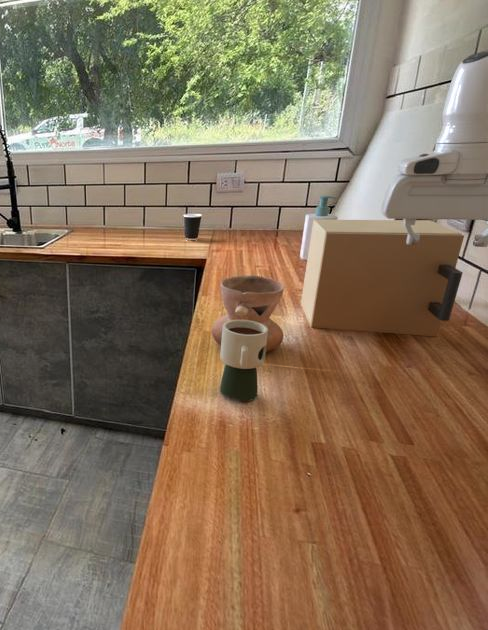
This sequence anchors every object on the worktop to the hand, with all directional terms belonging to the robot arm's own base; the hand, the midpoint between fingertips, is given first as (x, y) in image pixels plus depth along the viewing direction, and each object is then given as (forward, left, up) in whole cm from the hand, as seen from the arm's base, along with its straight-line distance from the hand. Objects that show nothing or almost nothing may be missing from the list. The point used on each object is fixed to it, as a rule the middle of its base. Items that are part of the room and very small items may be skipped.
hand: (444, 245), depth 78 cm
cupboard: (+3, -25, -24) cm, 34 cm away
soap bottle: (+4, -84, -24) cm, 87 cm away
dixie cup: (+49, -112, -24) cm, 124 cm away
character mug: (+32, +19, -24) cm, 44 cm away
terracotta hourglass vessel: (+30, -3, -24) cm, 38 cm away
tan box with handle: (+3, -13, -23) cm, 27 cm away
